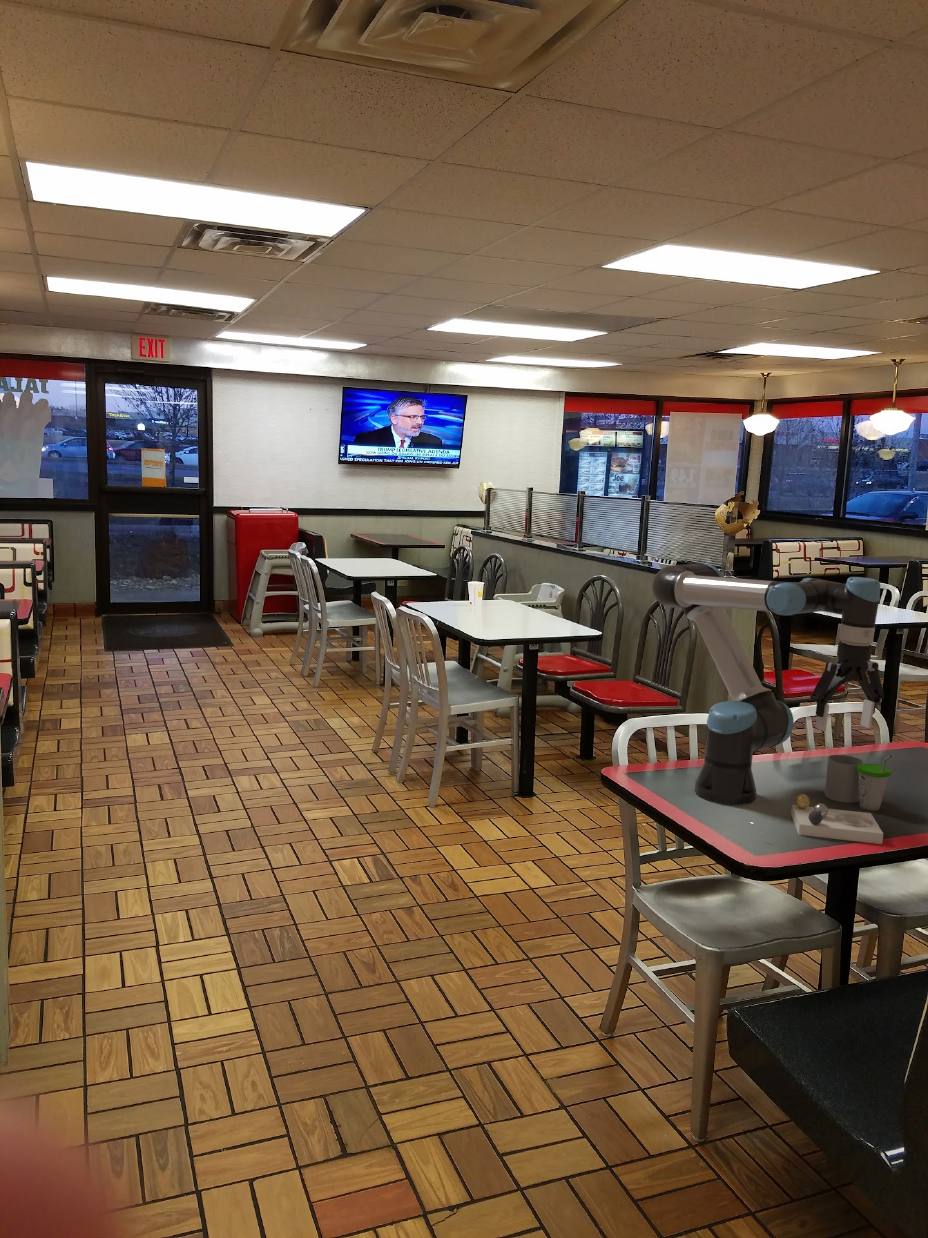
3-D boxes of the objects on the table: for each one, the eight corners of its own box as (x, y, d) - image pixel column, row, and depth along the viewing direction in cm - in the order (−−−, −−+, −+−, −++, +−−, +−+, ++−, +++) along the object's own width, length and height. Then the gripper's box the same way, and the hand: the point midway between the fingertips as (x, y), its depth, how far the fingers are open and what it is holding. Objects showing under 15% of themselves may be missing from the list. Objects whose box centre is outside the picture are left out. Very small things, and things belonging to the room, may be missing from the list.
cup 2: (847, 801, 237) (854, 745, 235) (878, 803, 237) (885, 746, 235) (859, 813, 230) (866, 754, 227) (891, 814, 229) (898, 756, 227)
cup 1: (860, 795, 243) (864, 758, 241) (858, 804, 235) (863, 767, 234) (825, 789, 246) (829, 752, 244) (823, 798, 239) (827, 761, 237)
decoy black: (808, 825, 213) (810, 813, 213) (806, 820, 216) (808, 808, 215) (822, 827, 212) (824, 814, 212) (820, 822, 215) (821, 809, 215)
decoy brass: (795, 809, 223) (796, 796, 222) (793, 804, 226) (794, 791, 225) (810, 811, 222) (811, 797, 221) (808, 806, 225) (809, 793, 225)
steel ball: (814, 818, 217) (815, 805, 217) (812, 813, 220) (813, 800, 220) (828, 820, 217) (830, 807, 216) (826, 815, 220) (827, 802, 219)
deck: (798, 834, 214) (799, 824, 213) (791, 814, 226) (792, 804, 226) (882, 844, 210) (883, 833, 210) (869, 823, 223) (870, 813, 222)
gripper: (824, 647, 214) (812, 735, 218) (908, 645, 222) (895, 730, 226) (802, 640, 221) (790, 725, 225) (884, 638, 229) (872, 721, 233)
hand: (843, 728), depth 226 cm, fingers open, 13 cm apart
